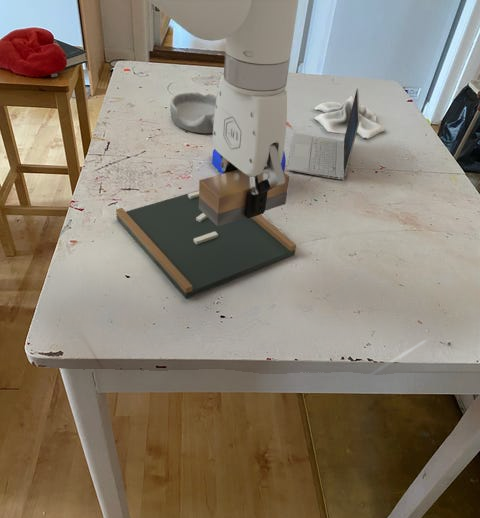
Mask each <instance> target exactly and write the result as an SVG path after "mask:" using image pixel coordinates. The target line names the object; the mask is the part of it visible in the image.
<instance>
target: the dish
mask: <svg viewBox="0 0 480 518" xmlns="http://www.w3.org/2000/svg"><path fill="white" fill-rule="evenodd" d="M216 99H217V95H214V94H211V93H207V94H202V93H201V92H197V91H196V92H193V91H192V92H183V93H178V94H175V95H174V96H173V97H172V98H171V100H170V105H169V107H170V108H169V111H170V118H171V120H172V123H173V124H174V125H175V126H176V127H178V128H179V129H182V130H185V131H188V132H192V133H198V134H213V125H214V114H215V106H216Z"/></svg>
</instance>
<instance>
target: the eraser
mask: <svg viewBox="0 0 480 518" xmlns="http://www.w3.org/2000/svg"><path fill="white" fill-rule="evenodd" d="M283 173H284V177H285V183H284V184H281V185H279V186H276V187H274V188H272V189H271V190H270V191H268V193H267V200H266V207H265V212H266V211H269V210H271V209H274V208H278V207H280V206H283V205H286V203H287V196H288V189H289V186H290V185H289V184H290V178H291V176H290V175H289V174H287V173H285V171H284V172H283ZM261 181H263V174H261V175H258V183H260V182H261ZM198 186H199V187H198V190H199V209H200V210H201V211H202V212H203V213H204V214H205V215H206V216H207V217H208V218H209V219H210V220H211V221H212V222H213V223H214V224H215V225H217V226H221V225H224V224H227V223H230V222H233V221H236V220H239V219H242V218H245V207H246V198H247V192H249V191H250V179H249V176H247V175H246V174H245V173H243V172H242V171H241V170H239V169H238V170H235V171H231V172H228V173H224V174H221V173H220V174H218V175H214V176H213V175H212V176H210V177H206V178H201V179H200V180H198Z"/></svg>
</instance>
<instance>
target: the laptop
mask: <svg viewBox="0 0 480 518" xmlns="http://www.w3.org/2000/svg"><path fill="white" fill-rule="evenodd" d="M359 95H360V94H359V88H356V91H355V95H354V102H353V106H352V110H351V114H350V118H349V122H348V126H347V130H346V134H344V139H343V140H341V139H333V138H327V137H321V136H313V135H308V134H302V133H301V134H300V133H294V134H293V137H292V142H291V148H290V152H289V158H288V164H287V171H292V172H296V173H302V174H308V175H312V176H313V175H314V176H318V177H323V178H329V179H334V180H342V181H344V180H345V177H346V175H347V171H348V167H349V163H350V159H351V155H352V152H353V149H354V144H355V141H356V138H357V134H358V133H357V130H358V126H359V122H360V119H359V104H360V99H359V97H360V96H359Z"/></svg>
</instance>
